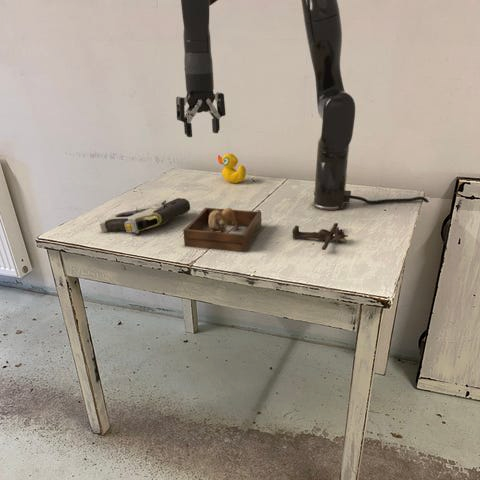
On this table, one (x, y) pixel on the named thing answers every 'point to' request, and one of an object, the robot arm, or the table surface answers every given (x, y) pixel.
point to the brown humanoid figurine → (322, 235)
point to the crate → (221, 239)
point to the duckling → (232, 169)
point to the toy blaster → (146, 216)
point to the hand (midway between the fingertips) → (202, 134)
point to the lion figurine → (222, 220)
